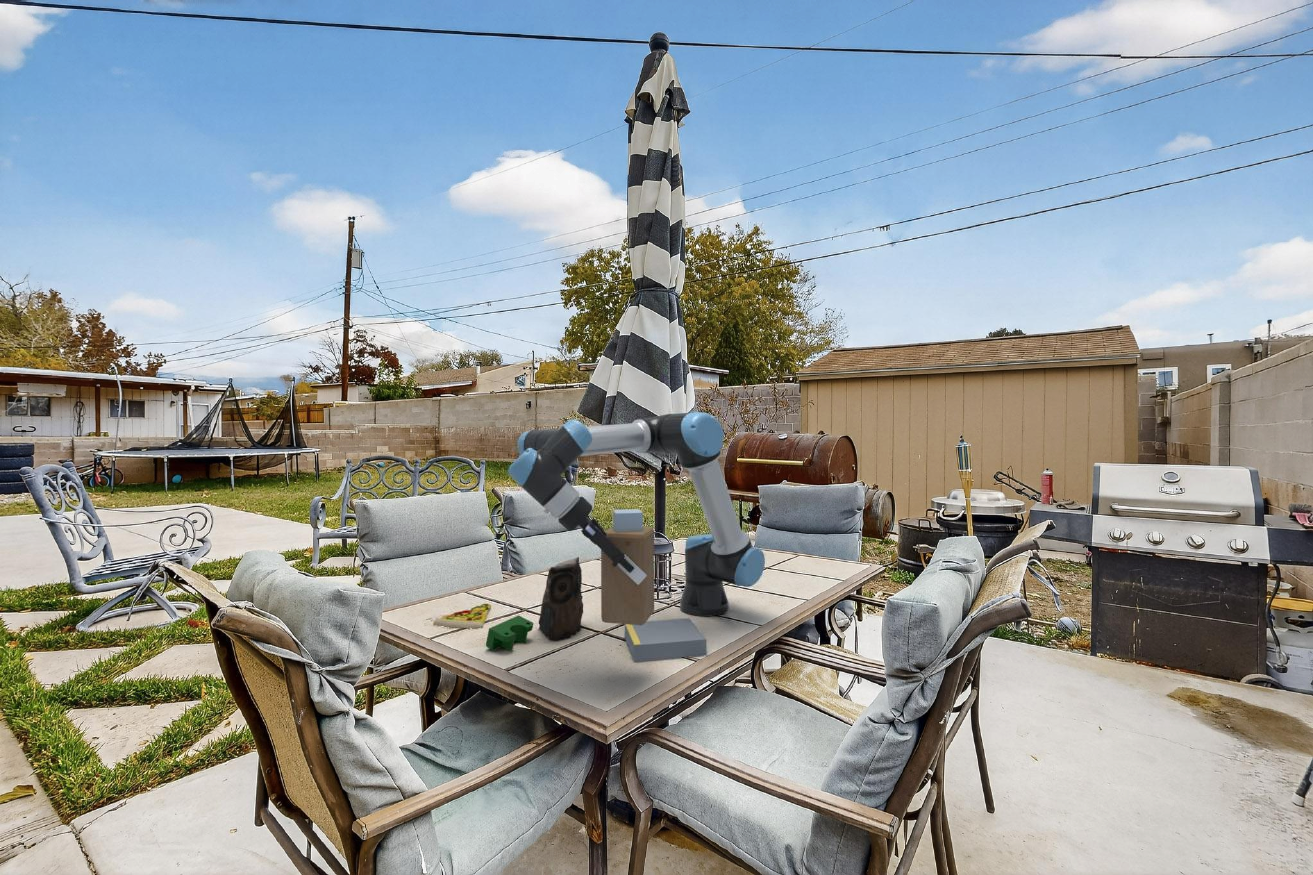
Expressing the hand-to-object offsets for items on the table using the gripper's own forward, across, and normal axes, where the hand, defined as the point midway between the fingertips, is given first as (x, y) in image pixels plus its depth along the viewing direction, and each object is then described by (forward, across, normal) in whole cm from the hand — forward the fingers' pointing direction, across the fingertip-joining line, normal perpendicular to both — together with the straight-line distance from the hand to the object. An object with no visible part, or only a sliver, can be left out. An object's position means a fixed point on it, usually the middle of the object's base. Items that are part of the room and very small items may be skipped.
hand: (637, 572), depth 122 cm
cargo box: (-8, 0, +6) cm, 10 cm away
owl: (+5, -33, -28) cm, 44 cm away
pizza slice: (-12, -51, -47) cm, 70 cm away
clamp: (-4, -25, -37) cm, 45 cm away
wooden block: (+6, 0, -9) cm, 11 cm away
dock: (+23, -16, -10) cm, 30 cm away
